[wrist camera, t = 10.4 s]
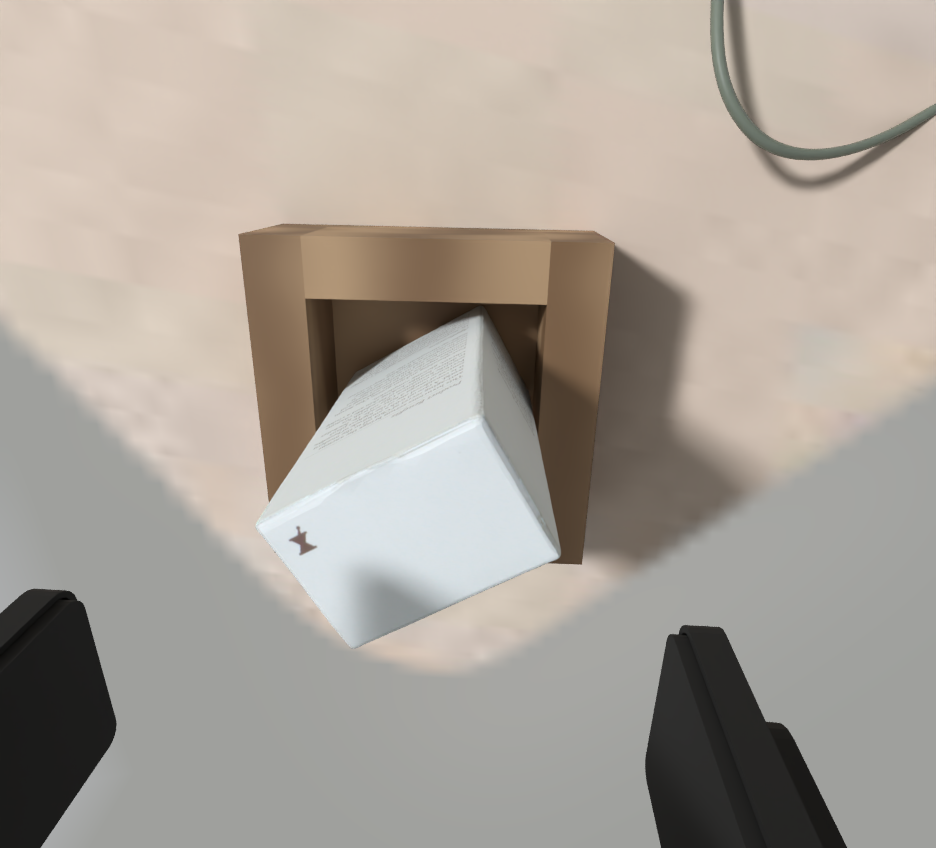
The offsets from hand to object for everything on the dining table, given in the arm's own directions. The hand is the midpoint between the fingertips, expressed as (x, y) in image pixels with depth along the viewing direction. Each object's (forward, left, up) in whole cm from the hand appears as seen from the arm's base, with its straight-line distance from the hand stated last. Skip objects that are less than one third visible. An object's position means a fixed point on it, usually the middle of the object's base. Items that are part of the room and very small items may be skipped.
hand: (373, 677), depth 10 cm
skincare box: (0, 0, -17) cm, 17 cm away
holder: (0, 0, -17) cm, 17 cm away
